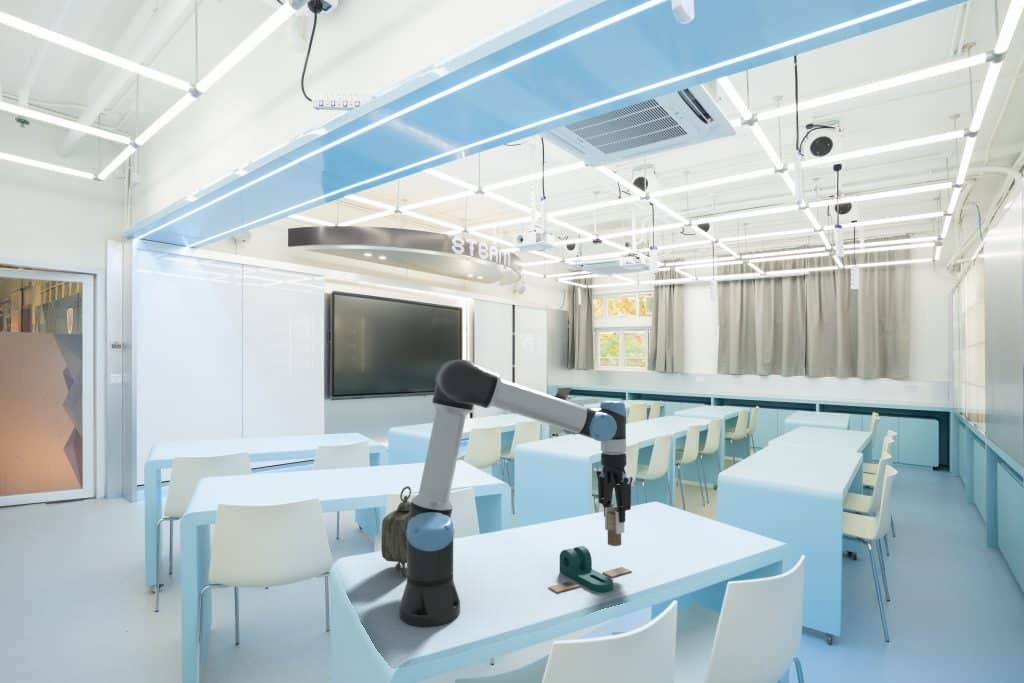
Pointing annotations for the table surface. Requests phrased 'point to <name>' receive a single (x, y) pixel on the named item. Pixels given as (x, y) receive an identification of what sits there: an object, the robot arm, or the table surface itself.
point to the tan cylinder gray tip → (613, 528)
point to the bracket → (583, 570)
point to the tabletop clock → (396, 534)
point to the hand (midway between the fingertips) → (614, 530)
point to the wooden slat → (572, 585)
